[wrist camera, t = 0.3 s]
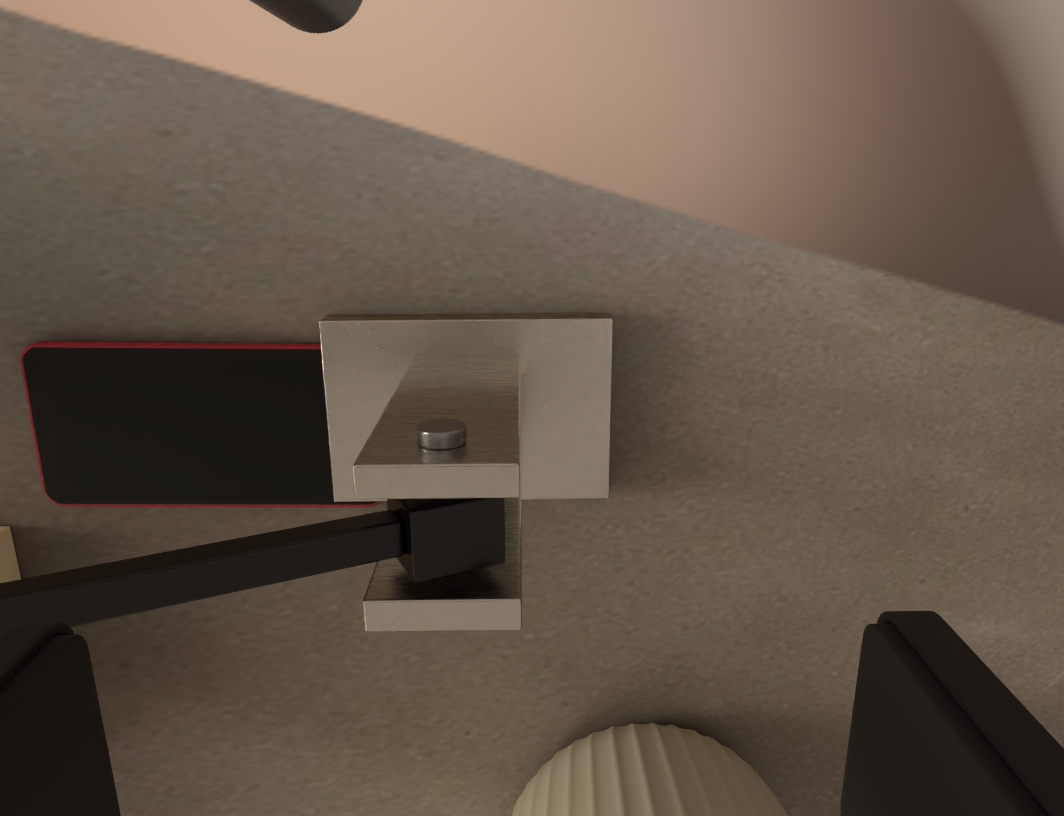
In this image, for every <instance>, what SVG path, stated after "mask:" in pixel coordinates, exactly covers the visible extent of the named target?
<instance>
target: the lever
mask: <svg viewBox="0 0 1064 816" xmlns="http://www.w3.org/2000/svg"><path fill="white" fill-rule="evenodd" d="M387 504H388V510H386V511H381V512H375V513H370V514H365V515H359V516H354V517H349V518H343V519H338V520H333V521H328V522H322V523H317V524H312V525H306V526H301V527H296V528H290V529H285V530H280V531H274V532H269V533H264V534H259V535H253V536H248V537H243V538H237V539H232V540H227V541H221V542H216V543H211V544H205V545H200V546H195V547H189V548H184V549H179V550H174V551H168V552H163V553H158V554H152V555H147V556H142V557H136V558H131V559H126V560H120V561H115V562H110V563H104V564H99V565H94V566H89V567H83V568H78V569H73V570H67V571H62V572H57V573H51V574H46V575H41V576H35V577H30V578H25V579H20V580H14V581H9V582H4V583H0V632H1V631H2V630H3V629H5V628H6V627H8V626H9V625H11V624H18V623H65V624H67V625H69V626H70V627H74V626H78V625H83V624H88V623H92V622H97V621H102V620H106V619H111V618H116V617H120V616H125V615H130V614H134V613H139V612H144V611H148V610H153V609H158V608H162V607H167V606H172V605H176V604H181V603H186V602H190V601H195V600H200V599H204V598H209V597H214V596H218V595H223V594H228V593H232V592H237V591H242V590H246V589H251V588H256V587H260V586H265V585H270V584H274V583H279V582H284V581H288V580H293V579H298V578H302V577H307V576H312V575H316V574H321V573H326V572H330V571H335V570H340V569H344V568H349V567H354V566H358V565H363V564H368V563H372V562H377V561H382V560H386V559H391V558H397V559H398V560H399V562H400V563H401V565H402V566H403V568H404V569H405V571H406V572H407V574H408V575H409V577H410V578H411V579H412V581H413V582H414V583H421V582H425V581H429V580H434V579H438V578H442V577H447V576H451V575H455V574H460V573H464V572H468V571H473V570H477V569H481V568H486V567H490V566H494V565H499V564H503V563H505V511H504V498H450V499H387Z"/></svg>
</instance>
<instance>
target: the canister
mask: <svg viewBox="0 0 1064 816" xmlns="http://www.w3.org/2000/svg"><path fill="white" fill-rule="evenodd" d="M511 816H788V815H787V814H786V812H785V811H784V809H783V807H782V806H781V804H780V802H779V801H778V799H777V798H776V796H775V795H774V793H773V792H772V790H771V789H770V788H769V787H768V785H767V784H766V783H765V782H764V781H763V780H762V779H761V777H760V776H759V775H758V773H757V772H756V771H755V770H754V768H752V767H751V766H750V765H749V764H748V763H747V762H746V761H744V760H743V759H741V758H740V757H739V756H738V755H737V754H736V753H735V752H734V751H733V750H731V749H730V748H728V747H726V746H723V745H720V744H719V742H717V741H716V740H715V739H713V738H711V737H709V736H702V735H700V734H698V733H697V732H696V731H694V730H692V729H681V728H678V727H676V726H674V725H657V724H655V723H653V722H652V723H649V724H634V723H631V724H629V725H626V726H621V727H615V726H612V727H610V728H609V729H606V730H603V731H599V732H592V733H591V734H590V735H589V736H587V737H585V738H582V739H577V740H575V741H574V742H573V743H572V744H571V745H569V746H568V747H566V748H564V749H561V750H559V751H558V752H556V754H555V755H554V757H553V758H552V759H551V760H549V761H547V762H545V763H544V764H543V765H542V766H541V767H540V769H539V770H538V772H537V774H536V775H534V776H533V777H532V778H531V779H530V780H529V782H528V783H527V784H526V787H525V789H524V791H523V793H522V794H521V796H520V797H519V798H518V800H517V802H516V804H515V806H514V809H513V812H512V815H511Z"/></svg>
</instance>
